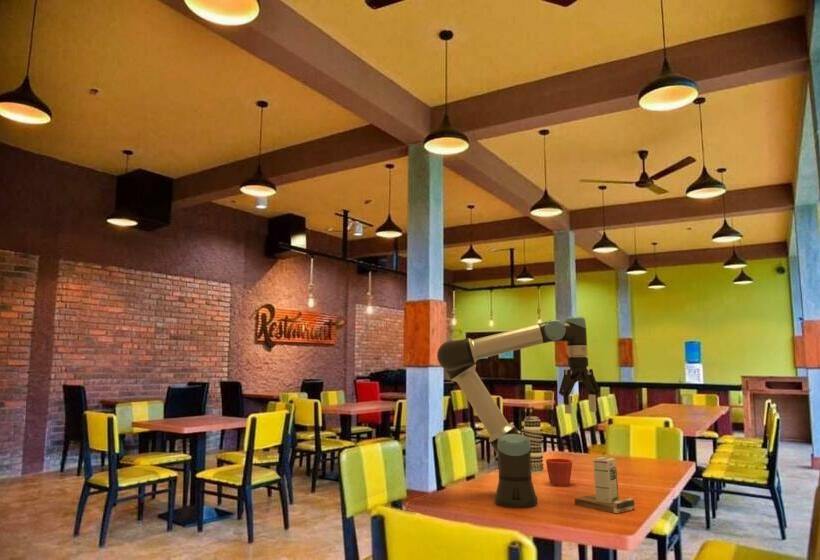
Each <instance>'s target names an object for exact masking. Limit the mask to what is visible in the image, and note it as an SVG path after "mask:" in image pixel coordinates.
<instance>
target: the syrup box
mask: <svg viewBox="0 0 820 560" xmlns="http://www.w3.org/2000/svg"><path fill="white" fill-rule="evenodd" d="M616 461H617V460H616V458H614V457H609V456H604V457H603V456H600V457H597V458H593V476H594V488H595V495H596V501H597V502H601V503H608V504H612V503H613V502H616V501H619V500H620V497H619V486H618V485H619V483H618V475H617V463H616Z"/></svg>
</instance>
